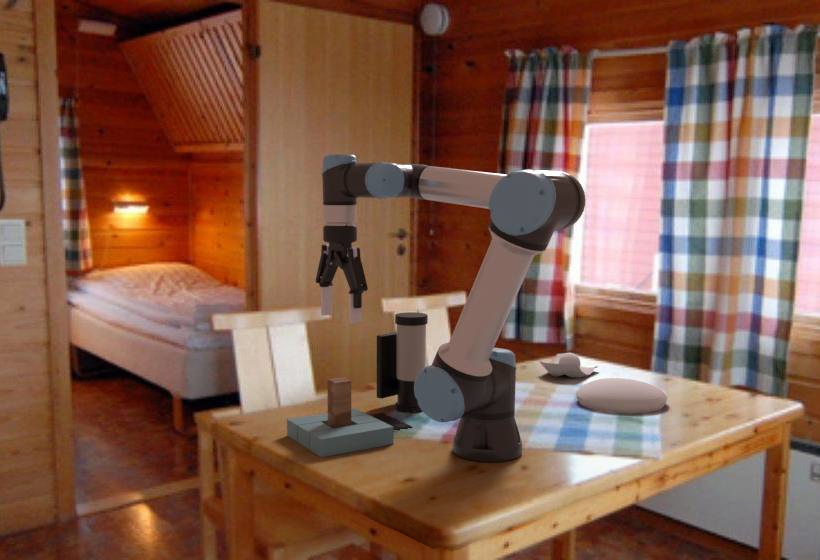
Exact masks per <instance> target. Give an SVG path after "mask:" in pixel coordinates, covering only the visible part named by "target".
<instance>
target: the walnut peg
mask: <svg viewBox="0 0 820 560" xmlns="http://www.w3.org/2000/svg"><path fill="white" fill-rule="evenodd" d="M326 381H327V391H326V392H327V413H328V426H329V427H331V428H339V427H345V426H351V409H352V380H351V379H349V378H346V377H344V376H342V377H335V378H327V380H326Z"/></svg>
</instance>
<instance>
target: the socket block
mask: <svg viewBox="0 0 820 560" xmlns="http://www.w3.org/2000/svg"><path fill="white" fill-rule="evenodd" d="M394 432H395V431H394V427H393V426H391V425H389V424H387V423H385V422H383V421H380V420H378V419H376V418H374V417H372V416H370V414H369V413H366V412H363V411H362V410H360V409H358V408H351V426H345V427H339V428H331V427H329V426H328V412H324V413H317V414H311V415H310V414H309V415H305V416H298V417H292V418H287V419H286V436H287V437H288V438H290V439H291V440H293V441H295V442H296V443H297V444H299V445H300V446H302V447H304V448H305V449H307V450H309V451H311V452H312V453H314V454H315V455H316V456H318V457H320V458H326V457H331V456H335V455H341V454H346V453H351V452H359V451H363V450H369V449H374V448H379V447H380V448H381V447H385V446H390V445H394V443H395V442H394V441H395V439H394V437H395V434H394Z"/></svg>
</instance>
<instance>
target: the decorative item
mask: <svg viewBox="0 0 820 560" xmlns="http://www.w3.org/2000/svg"><path fill="white" fill-rule="evenodd" d="M575 395H576V398H577V402H578V403H579V404H580V406H582V407H584V406H585V407H584V408H587V409H590V410H595V411H600V412H606V413H615V412H616V413H615V414H617V413H618V414H645V413H652V412H657V411H660V410H662V409H663V408H664V407H665V405H666V403H667V401H668V397H667V395H666V394H665V392H663V390H662V389H660V388H659V387H657V386H655V385H653V384H651V383H647V382H644V381H640V380H636V379H631V378H622V377H620V378H619V377H606V378H599V379H595V380H591V381H589V382H586V383H585V384H583V385H582V386H580V387H579V388H578V389H577V390H576V393H575Z"/></svg>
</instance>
